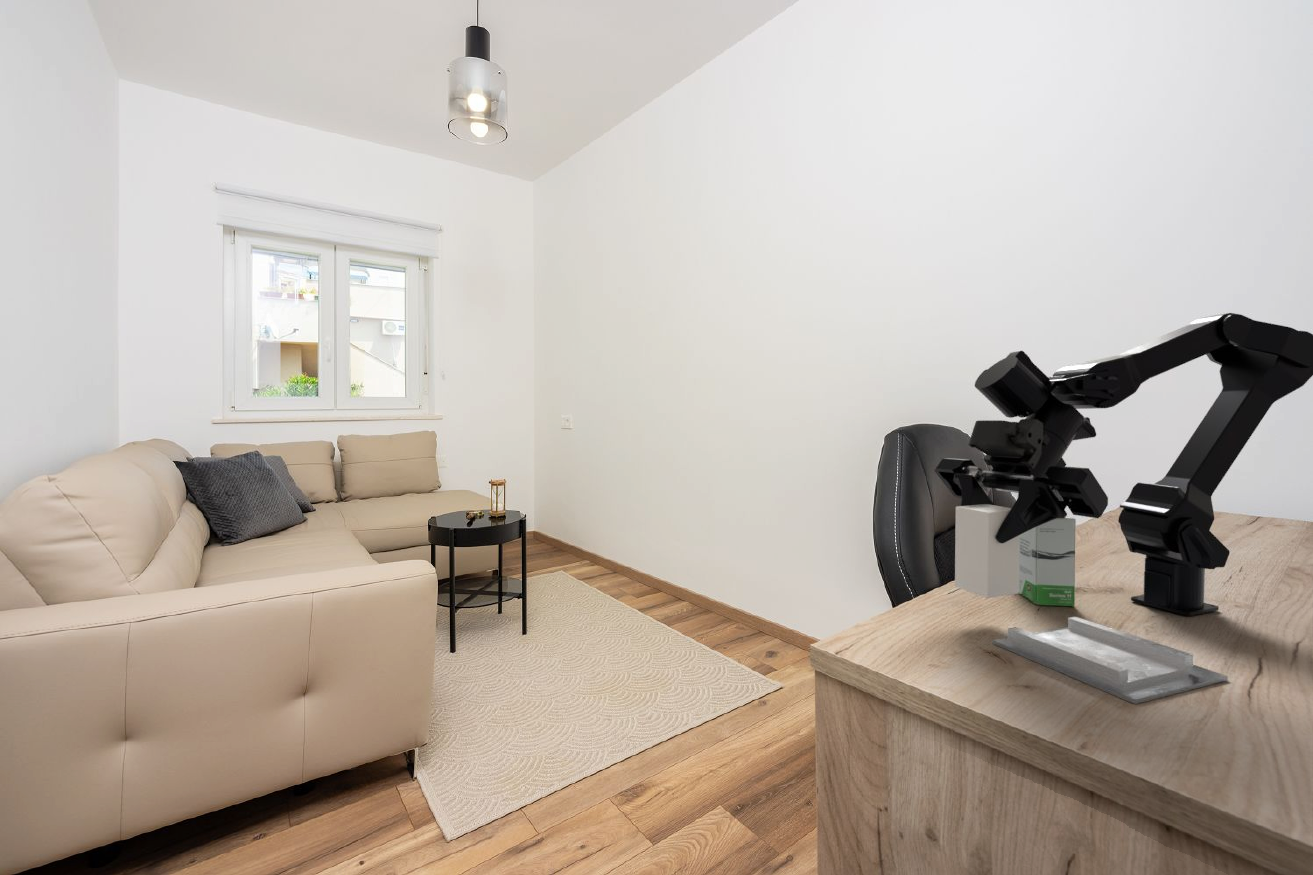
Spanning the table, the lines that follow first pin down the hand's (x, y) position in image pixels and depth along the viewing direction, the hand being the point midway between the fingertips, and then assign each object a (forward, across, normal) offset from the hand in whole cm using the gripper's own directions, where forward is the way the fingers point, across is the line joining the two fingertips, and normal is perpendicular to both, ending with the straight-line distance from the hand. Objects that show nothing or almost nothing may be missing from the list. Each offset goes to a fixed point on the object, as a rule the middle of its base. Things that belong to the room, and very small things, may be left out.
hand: (978, 536), depth 68 cm
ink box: (-4, -4, +20) cm, 21 cm away
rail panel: (+7, +12, +8) cm, 16 cm away
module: (+4, 0, +6) cm, 7 cm away
